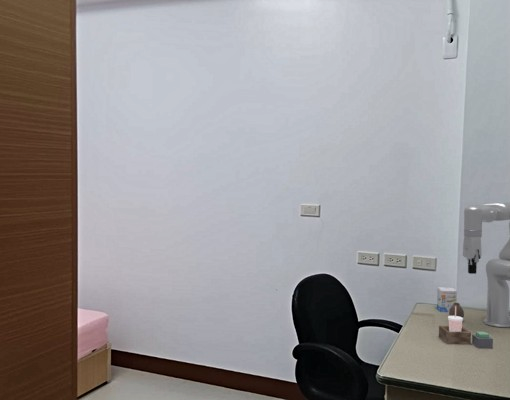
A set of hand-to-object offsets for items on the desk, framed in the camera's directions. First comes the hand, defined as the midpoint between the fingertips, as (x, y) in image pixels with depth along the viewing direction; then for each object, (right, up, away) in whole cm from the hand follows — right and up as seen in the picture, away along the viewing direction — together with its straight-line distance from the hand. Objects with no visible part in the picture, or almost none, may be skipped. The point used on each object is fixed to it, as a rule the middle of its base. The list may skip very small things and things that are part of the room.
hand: (472, 273), depth 229 cm
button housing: (-5, -28, -21) cm, 35 cm away
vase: (0, -27, +18) cm, 32 cm away
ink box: (+3, -26, +39) cm, 47 cm away
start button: (-5, -27, -21) cm, 34 cm away
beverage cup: (-13, -26, -14) cm, 33 cm away
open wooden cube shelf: (-14, -27, -14) cm, 33 cm away
